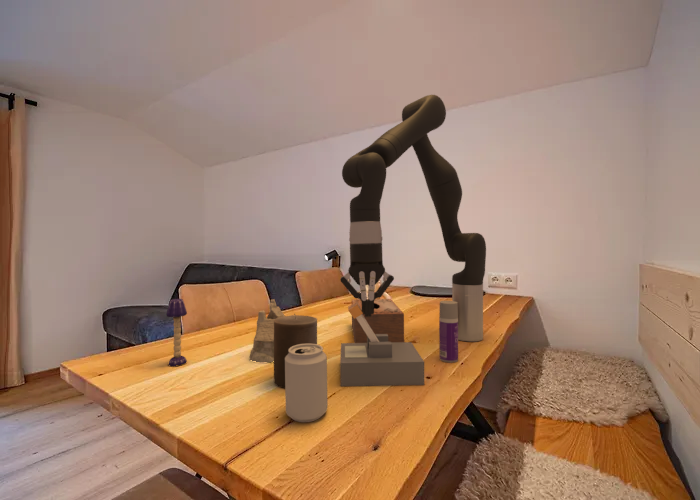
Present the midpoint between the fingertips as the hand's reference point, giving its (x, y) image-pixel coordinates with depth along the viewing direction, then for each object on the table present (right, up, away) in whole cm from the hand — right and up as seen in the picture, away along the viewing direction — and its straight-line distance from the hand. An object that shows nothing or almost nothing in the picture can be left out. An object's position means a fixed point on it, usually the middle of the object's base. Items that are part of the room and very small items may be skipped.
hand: (367, 315), depth 78 cm
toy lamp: (-48, -14, +8) cm, 51 cm away
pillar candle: (-16, -14, -3) cm, 22 cm away
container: (+22, -13, +9) cm, 27 cm away
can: (-12, -14, -18) cm, 26 cm away
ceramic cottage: (-23, -14, +15) cm, 31 cm away
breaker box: (+3, -14, +1) cm, 14 cm away
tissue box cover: (+4, -13, +33) cm, 35 cm away
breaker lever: (+3, -8, 0) cm, 8 cm away
